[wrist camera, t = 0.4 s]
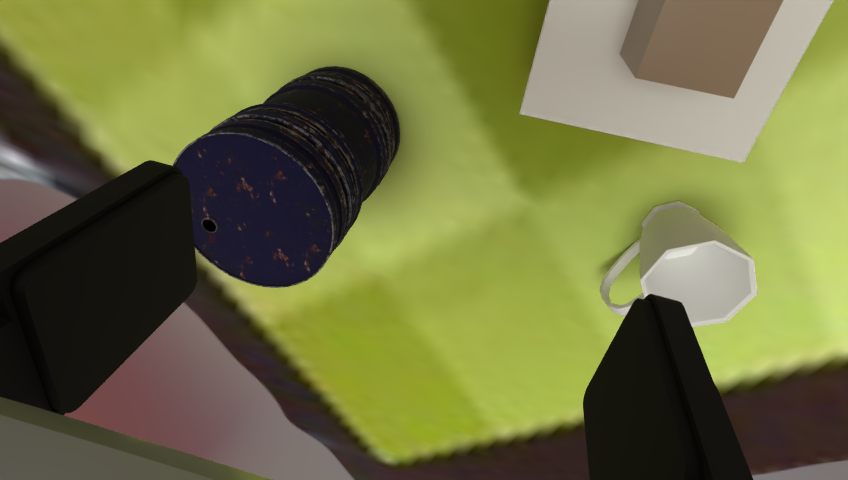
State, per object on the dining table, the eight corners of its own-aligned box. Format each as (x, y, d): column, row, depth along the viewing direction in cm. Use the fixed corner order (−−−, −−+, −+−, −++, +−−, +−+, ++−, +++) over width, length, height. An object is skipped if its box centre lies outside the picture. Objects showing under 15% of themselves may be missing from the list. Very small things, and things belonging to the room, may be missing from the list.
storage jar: (376, 48, 36) (289, 108, 24) (418, 171, 40) (362, 276, 28) (262, 84, 39) (132, 154, 27) (312, 194, 44) (220, 298, 31)
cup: (740, 232, 38) (783, 297, 31) (622, 294, 43) (637, 362, 36) (689, 166, 36) (723, 219, 29) (572, 239, 41) (578, 299, 34)
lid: (591, -159, 22) (607, -188, 17) (878, -111, 21) (990, -126, 16) (520, 107, 28) (515, 146, 23) (735, 154, 27) (781, 206, 22)
